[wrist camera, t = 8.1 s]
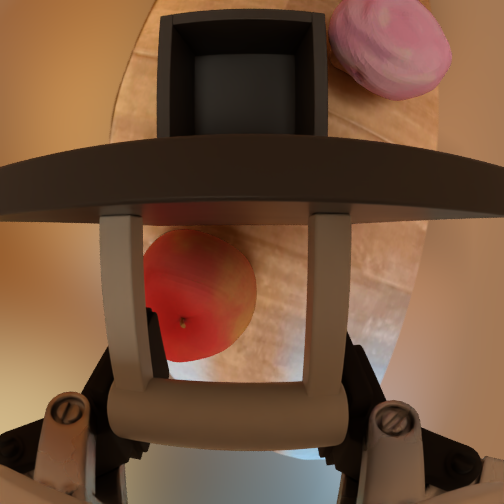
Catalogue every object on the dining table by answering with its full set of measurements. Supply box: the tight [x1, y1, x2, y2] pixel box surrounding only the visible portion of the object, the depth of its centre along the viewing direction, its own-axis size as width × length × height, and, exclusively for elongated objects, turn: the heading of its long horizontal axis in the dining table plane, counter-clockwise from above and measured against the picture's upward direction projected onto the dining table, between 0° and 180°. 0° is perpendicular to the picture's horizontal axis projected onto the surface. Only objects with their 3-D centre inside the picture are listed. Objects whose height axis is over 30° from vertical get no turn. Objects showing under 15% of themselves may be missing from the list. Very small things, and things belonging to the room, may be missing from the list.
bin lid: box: [0, 134, 504, 451], centre depth 10 cm, size 13×10×6 cm
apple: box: [143, 229, 257, 362], centre depth 22 cm, size 10×10×10 cm
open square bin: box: [157, 9, 328, 138], centre depth 19 cm, size 13×10×8 cm
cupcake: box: [328, 0, 452, 101], centre depth 16 cm, size 9×9×10 cm
